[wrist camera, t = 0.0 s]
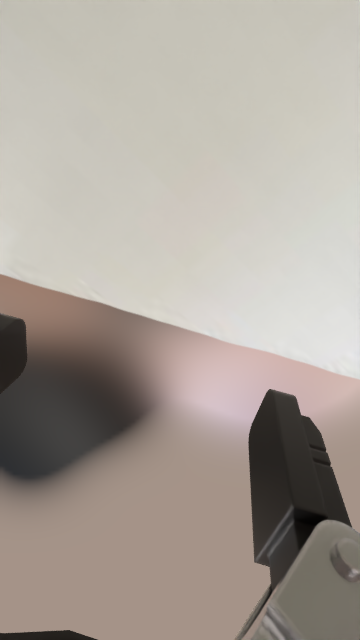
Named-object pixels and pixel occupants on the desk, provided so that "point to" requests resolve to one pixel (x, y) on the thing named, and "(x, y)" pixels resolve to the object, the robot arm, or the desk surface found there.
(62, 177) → the desk surface
